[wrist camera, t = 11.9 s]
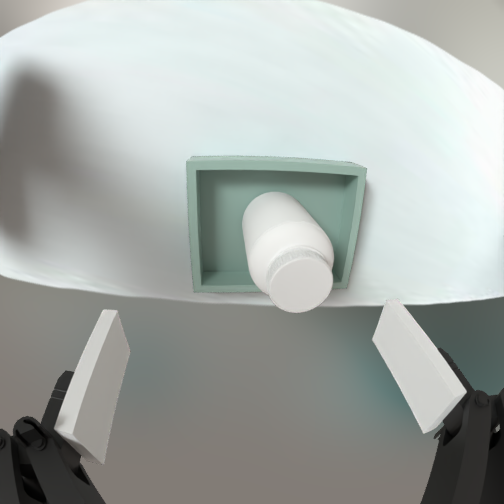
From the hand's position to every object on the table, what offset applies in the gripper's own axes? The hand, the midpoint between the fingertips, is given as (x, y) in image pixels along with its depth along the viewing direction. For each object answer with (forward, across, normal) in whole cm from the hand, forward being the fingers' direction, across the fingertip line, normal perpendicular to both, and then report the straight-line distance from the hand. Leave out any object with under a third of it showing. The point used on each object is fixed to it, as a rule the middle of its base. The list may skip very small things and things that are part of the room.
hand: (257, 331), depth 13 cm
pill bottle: (+23, +5, -3) cm, 24 cm away
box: (+24, +5, -3) cm, 25 cm away
